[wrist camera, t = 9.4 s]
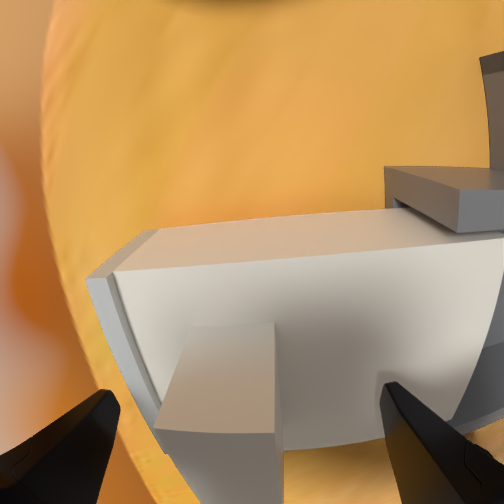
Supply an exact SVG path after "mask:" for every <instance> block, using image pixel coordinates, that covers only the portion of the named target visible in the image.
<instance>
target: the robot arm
mask: <svg viewBox="0 0 504 504" xmlns="http://www.w3.org/2000/svg"><path fill="white" fill-rule="evenodd" d="M379 405H380V411H381V417H382V423H383V428H384V435H385V441H386V446H387V450H388V453H389V457H390V460H391V464H392V468H393V471H394V475H395V478H396V482H397V486H398V490H399V494H400V498H401V502H402V504H504V465H503V464H501V463H500V462H498V461H496V460H495V459H493V458H492V457H490V456H489V455H487V454H486V453H484V452H483V451H482V450H481V449H479V448H478V447H477V446H475V445H474V444H473V443H472V442H470V441H469V440H467V439H466V438H465V437H464V436H463V435H462V434H460V433H459V432H458V431H457V430H455V429H454V428H453V427H452V426H450V425H449V424H448V423H447V422H446V421H444V420H443V419H442V418H441V417H439V416H438V415H437V414H436V413H435V412H433V411H432V410H431V409H430V408H428V407H427V406H426V405H425V404H424V403H422V402H421V401H420V400H419V399H418V398H416V397H415V396H414V395H413V394H411V393H410V392H409V391H408V390H407V389H405V388H404V387H403V386H402V385H400V384H399V383H398V382H396V381H393V382H388V383H385V384H384V385H383V388H382V392H381V396H380V401H379ZM119 416H120V405H119V403H118V401H117V399H116V397H115V396H114V394H113V392H112V391H111V390H106V389H100V390H98V391H97V392H96V393H94V394H93V395H92V396H90V397H88V398H87V399H86V400H84V401H83V402H81V403H80V404H79V405H77V406H76V407H74V408H73V409H71V410H70V411H69V412H67V413H66V414H64V415H63V416H61V417H60V418H58V419H57V420H55V421H54V422H52V423H51V424H50V425H48V426H47V427H45V428H44V429H42V430H41V431H39V432H38V433H36V434H35V435H33V437H30V438H29V439H27V440H26V441H24V442H23V443H21V444H20V445H18V446H16V447H15V448H13V449H11V450H9V451H8V452H6V453H4V454H2V455H0V504H96V503H97V499H98V496H99V492H100V488H101V485H102V482H103V478H104V475H105V471H106V468H107V464H108V461H109V458H110V455H111V451H112V448H113V445H114V440H115V435H116V430H117V425H118V421H119Z"/></svg>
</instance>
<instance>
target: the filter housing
mask: <svg viewBox="0 0 504 504" xmlns="http://www.w3.org/2000/svg"><path fill="white" fill-rule="evenodd" d="M480 63H481V69H482V74H483V80H484V87H485V94H486V102H487V111H488V123H489V139H490V169H489V168H471V167H441V166H384V174H385V209H391V208H410V207H412V208H414V209H416V210H418V211H420V212H422V213H423V214H425V215H427V216H429V217H430V218H432V219H434V220H436V221H437V222H439V223H441V224H443V225H444V226H446V227H448V228H449V229H451V230H453V231H454V232H456V233H466V232H478V231H490V230H497V231H499V232H500V233H502V234H504V51H502V52H498V53H494V54H491V55H487V56H483V57H480ZM502 418H504V272H503V277H502V282H501V286H500V290H499V294H498V298H497V302H496V306H495V310H494V313H493V317H492V320H491V324H490V327H489V330H488V333H487V336H486V339H485V342H484V345H483V348H482V351H481V353H480V356H479V359H478V361H477V364H476V367H475V369H474V372H473V374H472V377H471V379H470V381H469V384H468V386H467V388H466V390H465V393H464V395H463V397H462V399H461V401H460V403H459V405H458V407H457V410H456V412H455V414H454V415H453V417H452V419H451V420H448V421H446V422H447V423H448V424H449V425H450V426H452V427H453V428H454V429H455V430H457V431H458V432H459V433H460V434H462V435H464V434H467V433H469V432H472V431H474V430H477V429H479V428H482V427H484V426H486V425H488V424H491V423H493V422H495V421H497V420H499V419H502Z"/></svg>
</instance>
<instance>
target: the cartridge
mask: <svg viewBox="0 0 504 504" xmlns="http://www.w3.org/2000/svg"><path fill="white" fill-rule="evenodd" d="M503 272H504V234H502V233H500V232H499V231H497V230H490V231H478V232H466V233H456V232H454V231H453V230H451V229H449V228H448V227H446V226H444V225H443V224H441V223H439V222H437V221H436V220H434V219H432V218H430V217H429V216H427V215H425V214H423V213H422V212H420V211H418V210H416V209H414V208H412V207H410V208H391V209H374V210H358V211H344V212H330V213H316V214H304V215H291V216H280V217H268V218H257V219H247V220H236V221H226V222H217V223H207V224H198V225H189V226H180V227H171V228H162V229H154V230H146V231H143V232H141V233H140V234H139V235H138V236H136V237H135V238H134V239H132V240H131V241H130V242H129V243H127V244H126V245H125V246H124V247H122V248H121V249H120V250H119V251H118V252H116V253H115V254H114V255H113V256H111V257H110V258H109V259H108V260H107V261H105V262H104V263H103V264H102V265H101V266H99V267H98V268H97V269H96V270H95V271H93V272H92V273H91V274H90V275H89V276H88V277H86V278H85V282H86V285H87V288H88V291H89V294H90V297H91V300H92V303H93V305H94V308H95V311H96V314H97V316H98V319H99V322H100V324H101V327H102V329H103V332H104V335H105V337H106V339H107V342H108V344H109V347H110V349H111V351H112V354H113V356H114V358H115V361H116V363H117V365H118V367H119V370H120V372H121V374H122V376H123V378H124V380H125V382H126V384H127V386H128V388H129V391H130V393H131V395H132V397H133V398H134V400H135V402H136V404H137V406H138V408H139V410H140V412H141V414H142V416H143V417H144V419H145V421H146V423H147V425H148V426H149V428H150V430H151V432H152V433H153V435H154V437H155V439H156V440H157V442H158V444H159V445H160V447H161V449H162V450H163V452H164V453H165V454H169V456H170V458H171V459H172V461H173V462H174V464H175V466H176V467H177V469H178V470H179V472H180V473H181V475H182V476H183V478H184V479H185V481H186V482H187V484H188V485H189V487H190V488H191V490H192V491H193V492H194V494H195V495H196V497H197V498H198V499H199V501H200V502H201V503H202V504H284V451H291V450H304V449H315V448H324V447H332V446H340V445H347V444H353V443H359V442H365V441H370V440H375V439H380V438H385V435H384V428H383V423H382V417H381V411H380V405H379V401H380V396H381V392H382V388H383V385H384V384H385V383H388V382H393V381H396V382H398V383H399V384H400V385H402V386H403V387H404V388H405V389H407V390H408V391H409V392H410V393H411V394H413V395H414V396H415V397H416V398H418V399H419V400H420V401H421V402H422V403H424V404H425V405H426V406H427V407H428V408H430V409H431V410H432V411H433V412H435V413H436V414H437V415H438V416H439V417H441V418H442V419H443V420H444V421H448V420H451V419H452V417H453V415H454V414H455V412H456V410H457V407H458V405H459V403H460V401H461V399H462V397H463V395H464V393H465V390H466V388H467V386H468V384H469V381H470V379H471V377H472V374H473V372H474V369H475V367H476V364H477V361H478V359H479V356H480V353H481V351H482V348H483V345H484V342H485V339H486V336H487V333H488V330H489V327H490V324H491V320H492V317H493V313H494V310H495V306H496V302H497V298H498V294H499V290H500V286H501V282H502V277H503Z"/></svg>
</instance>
